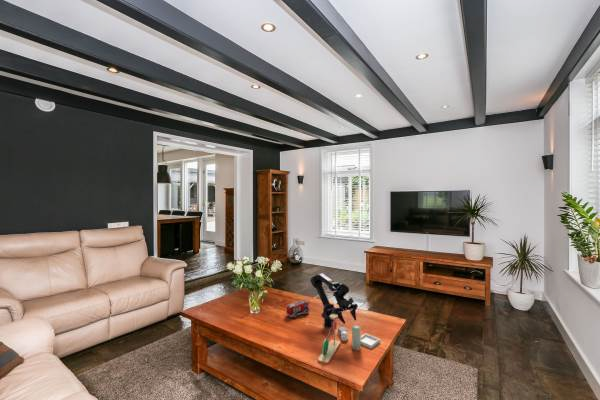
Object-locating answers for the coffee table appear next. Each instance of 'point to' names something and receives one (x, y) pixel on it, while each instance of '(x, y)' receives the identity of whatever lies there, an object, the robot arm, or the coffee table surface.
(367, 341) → the white tray
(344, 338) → the white rounded cylinder
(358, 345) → the pale green cylinder
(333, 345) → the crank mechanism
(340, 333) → the grey block
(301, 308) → the toy fire truck
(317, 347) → the coffee table surface
